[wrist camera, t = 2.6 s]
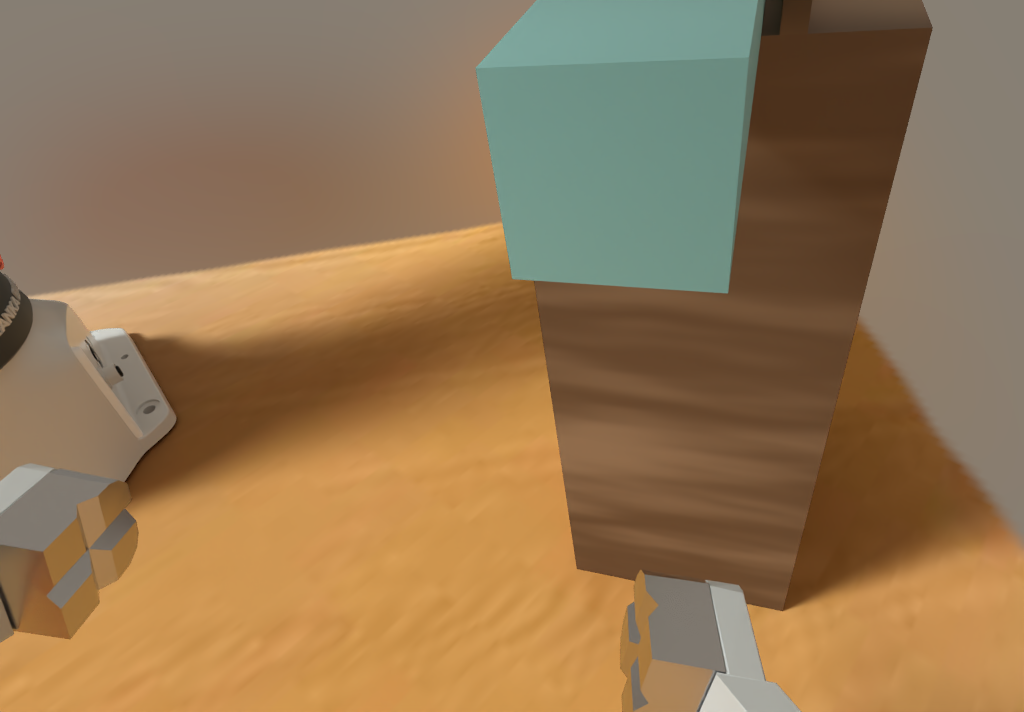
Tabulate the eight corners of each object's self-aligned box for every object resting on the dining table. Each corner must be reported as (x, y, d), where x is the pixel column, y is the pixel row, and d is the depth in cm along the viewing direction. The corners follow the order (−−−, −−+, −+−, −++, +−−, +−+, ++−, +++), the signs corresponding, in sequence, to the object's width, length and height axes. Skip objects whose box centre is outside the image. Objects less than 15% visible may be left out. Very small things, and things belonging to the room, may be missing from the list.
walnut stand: (782, 611, 32) (948, -35, 14) (576, 568, 35) (492, -1, 17) (787, 400, 41) (889, -143, 23) (625, 382, 44) (605, -108, 26)
